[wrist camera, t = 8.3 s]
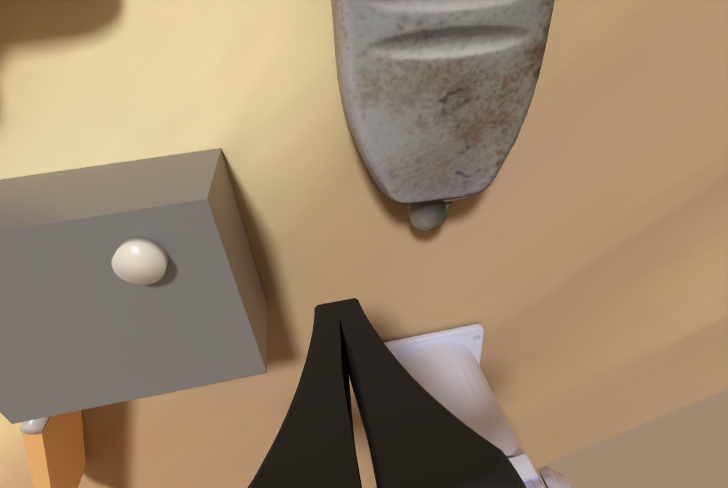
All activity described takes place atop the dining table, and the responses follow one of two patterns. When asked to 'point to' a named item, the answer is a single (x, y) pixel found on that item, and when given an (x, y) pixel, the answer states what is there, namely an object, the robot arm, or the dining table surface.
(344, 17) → the handheld device
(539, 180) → the dining table surface
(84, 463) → the side door
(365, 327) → the robot arm
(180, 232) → the grey box with knob
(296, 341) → the dining table surface
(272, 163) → the dining table surface
